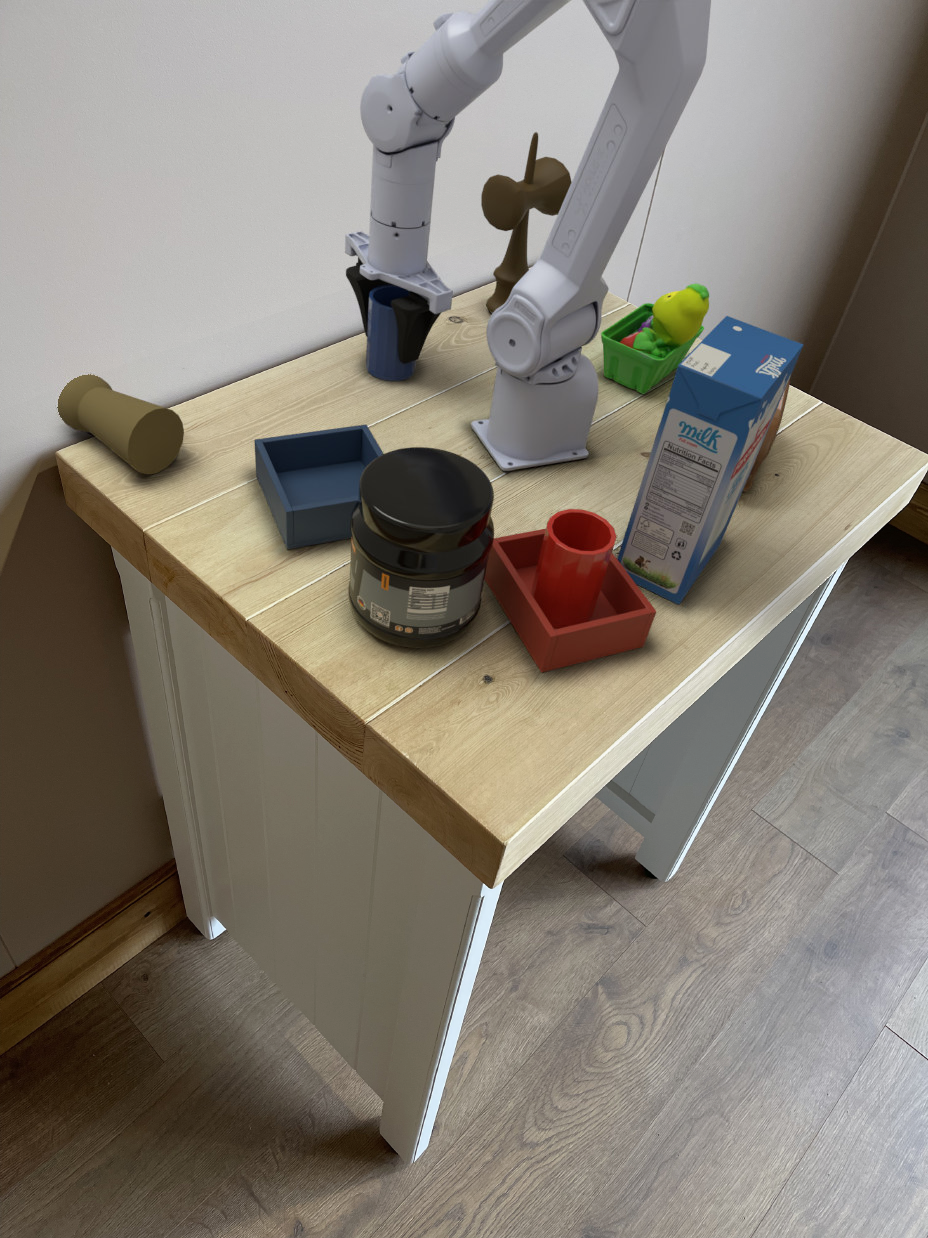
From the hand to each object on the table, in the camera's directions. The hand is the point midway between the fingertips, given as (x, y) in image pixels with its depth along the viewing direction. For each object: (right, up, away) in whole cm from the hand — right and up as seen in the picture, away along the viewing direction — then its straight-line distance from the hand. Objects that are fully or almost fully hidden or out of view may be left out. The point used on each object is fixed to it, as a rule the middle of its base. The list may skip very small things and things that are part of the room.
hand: (391, 347), depth 96 cm
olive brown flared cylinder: (-19, -13, -17) cm, 28 cm away
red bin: (+15, -28, -21) cm, 38 cm away
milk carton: (+25, -23, -15) cm, 38 cm away
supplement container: (+3, -27, -23) cm, 36 cm away
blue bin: (-4, -18, -15) cm, 24 cm away
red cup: (+15, -27, -22) cm, 38 cm away
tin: (+35, -13, -3) cm, 38 cm away
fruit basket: (+28, -1, +7) cm, 29 cm away
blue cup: (0, -2, +2) cm, 2 cm away
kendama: (+13, +8, +14) cm, 20 cm away
